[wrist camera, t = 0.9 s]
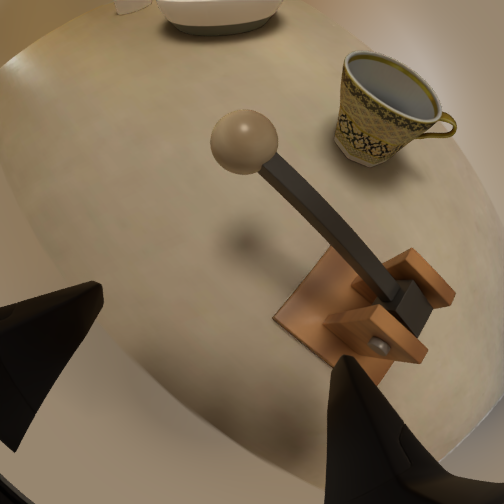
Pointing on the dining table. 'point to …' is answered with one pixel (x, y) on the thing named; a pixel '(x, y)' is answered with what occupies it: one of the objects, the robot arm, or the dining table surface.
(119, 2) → the cylinder with rectangular tab
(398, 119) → the ceramic cup
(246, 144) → the lever
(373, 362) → the bracket
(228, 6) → the bowl
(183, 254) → the dining table surface
